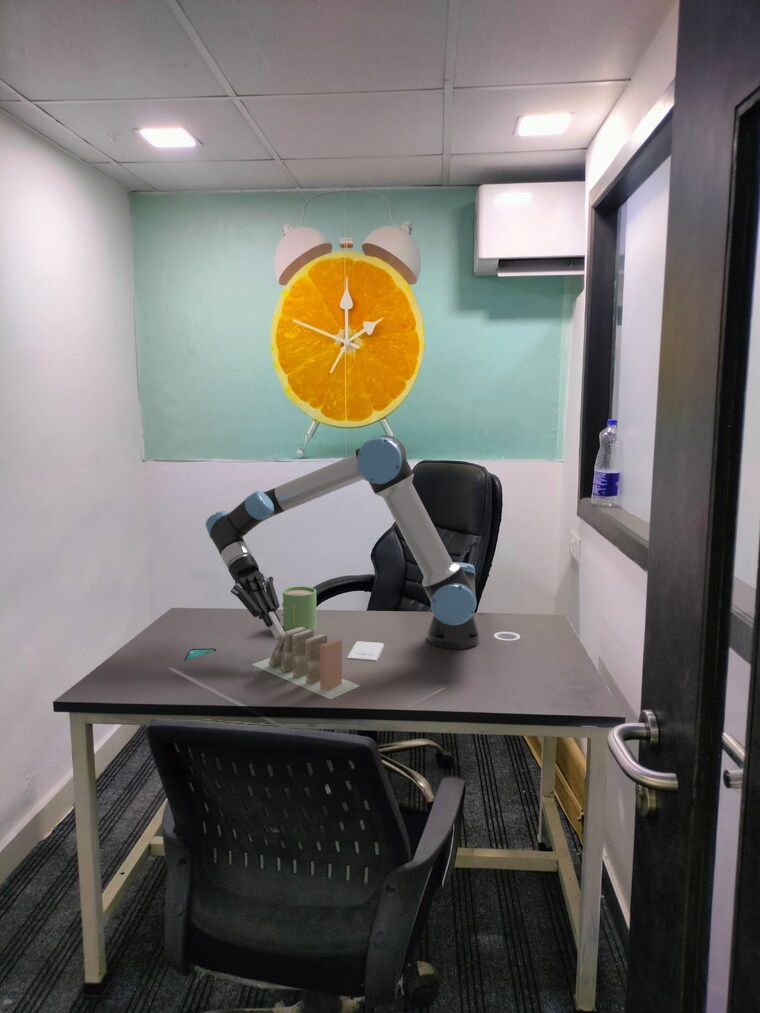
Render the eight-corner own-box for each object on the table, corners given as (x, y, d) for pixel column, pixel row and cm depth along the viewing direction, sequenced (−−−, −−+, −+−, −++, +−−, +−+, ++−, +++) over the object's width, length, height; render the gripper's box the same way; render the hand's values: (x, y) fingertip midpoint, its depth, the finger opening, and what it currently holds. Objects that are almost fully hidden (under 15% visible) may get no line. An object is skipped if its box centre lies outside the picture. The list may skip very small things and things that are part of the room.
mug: (287, 622, 204) (287, 585, 202) (319, 624, 202) (319, 587, 200) (275, 636, 191) (275, 597, 189) (310, 638, 190) (309, 598, 188)
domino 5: (320, 688, 154) (320, 645, 152) (337, 681, 158) (337, 638, 157) (324, 690, 153) (324, 646, 151) (341, 683, 157) (341, 640, 155)
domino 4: (306, 682, 157) (305, 639, 156) (323, 675, 162) (322, 633, 160) (310, 684, 156) (310, 641, 155) (327, 677, 160) (327, 635, 159)
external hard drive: (384, 648, 184) (376, 665, 172) (356, 646, 185) (346, 662, 173) (384, 643, 184) (376, 659, 171) (356, 640, 185) (346, 657, 173)
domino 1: (268, 663, 167) (281, 633, 162) (285, 657, 171) (298, 627, 166) (271, 667, 166) (284, 637, 161) (288, 661, 170) (301, 631, 165)
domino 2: (280, 670, 164) (285, 632, 161) (297, 664, 168) (302, 626, 165) (284, 673, 163) (289, 634, 160) (301, 667, 167) (306, 629, 164)
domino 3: (293, 677, 161) (292, 634, 159) (309, 670, 165) (309, 629, 163) (297, 678, 160) (296, 636, 158) (314, 672, 164) (313, 630, 162)
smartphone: (178, 670, 165) (190, 648, 180) (178, 673, 165) (190, 651, 180) (206, 669, 166) (216, 648, 180) (206, 672, 166) (216, 650, 181)
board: (251, 666, 169) (251, 664, 169) (281, 655, 176) (281, 653, 176) (330, 701, 149) (330, 699, 149) (360, 688, 156) (360, 685, 156)
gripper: (254, 565, 182) (293, 636, 174) (214, 574, 173) (253, 649, 164) (265, 550, 178) (305, 621, 170) (225, 558, 169) (266, 634, 160)
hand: (280, 635), depth 167 cm, fingers closed
